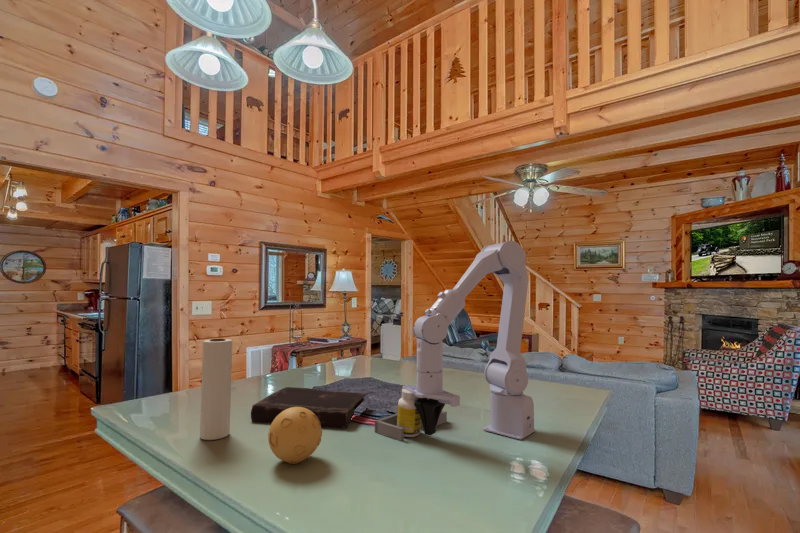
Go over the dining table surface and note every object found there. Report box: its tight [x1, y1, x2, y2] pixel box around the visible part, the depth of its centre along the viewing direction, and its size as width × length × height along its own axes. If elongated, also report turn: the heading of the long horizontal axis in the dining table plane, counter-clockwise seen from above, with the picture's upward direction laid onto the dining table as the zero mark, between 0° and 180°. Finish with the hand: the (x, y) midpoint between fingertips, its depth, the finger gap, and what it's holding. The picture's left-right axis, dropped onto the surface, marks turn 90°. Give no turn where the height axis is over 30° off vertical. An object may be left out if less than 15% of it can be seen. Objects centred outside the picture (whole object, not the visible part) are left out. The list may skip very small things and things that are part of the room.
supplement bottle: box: [397, 388, 421, 438], centre depth 90 cm, size 5×5×10 cm
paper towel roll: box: [199, 338, 233, 441], centre depth 90 cm, size 7×6×21 cm
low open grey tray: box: [374, 410, 448, 442], centre depth 99 cm, size 17×17×6 cm
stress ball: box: [267, 407, 323, 465], centre depth 76 cm, size 10×10×10 cm
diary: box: [250, 386, 369, 430], centre depth 105 cm, size 19×25×5 cm
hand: (429, 433), depth 87 cm, fingers closed
